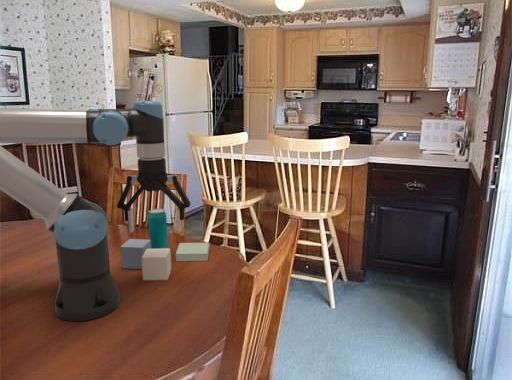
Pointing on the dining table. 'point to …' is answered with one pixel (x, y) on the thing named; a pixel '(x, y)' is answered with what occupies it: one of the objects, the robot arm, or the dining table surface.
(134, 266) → the gray cube
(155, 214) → the beverage can
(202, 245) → the base plate
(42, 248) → the dining table surface
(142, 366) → the dining table surface
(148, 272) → the cream brick
